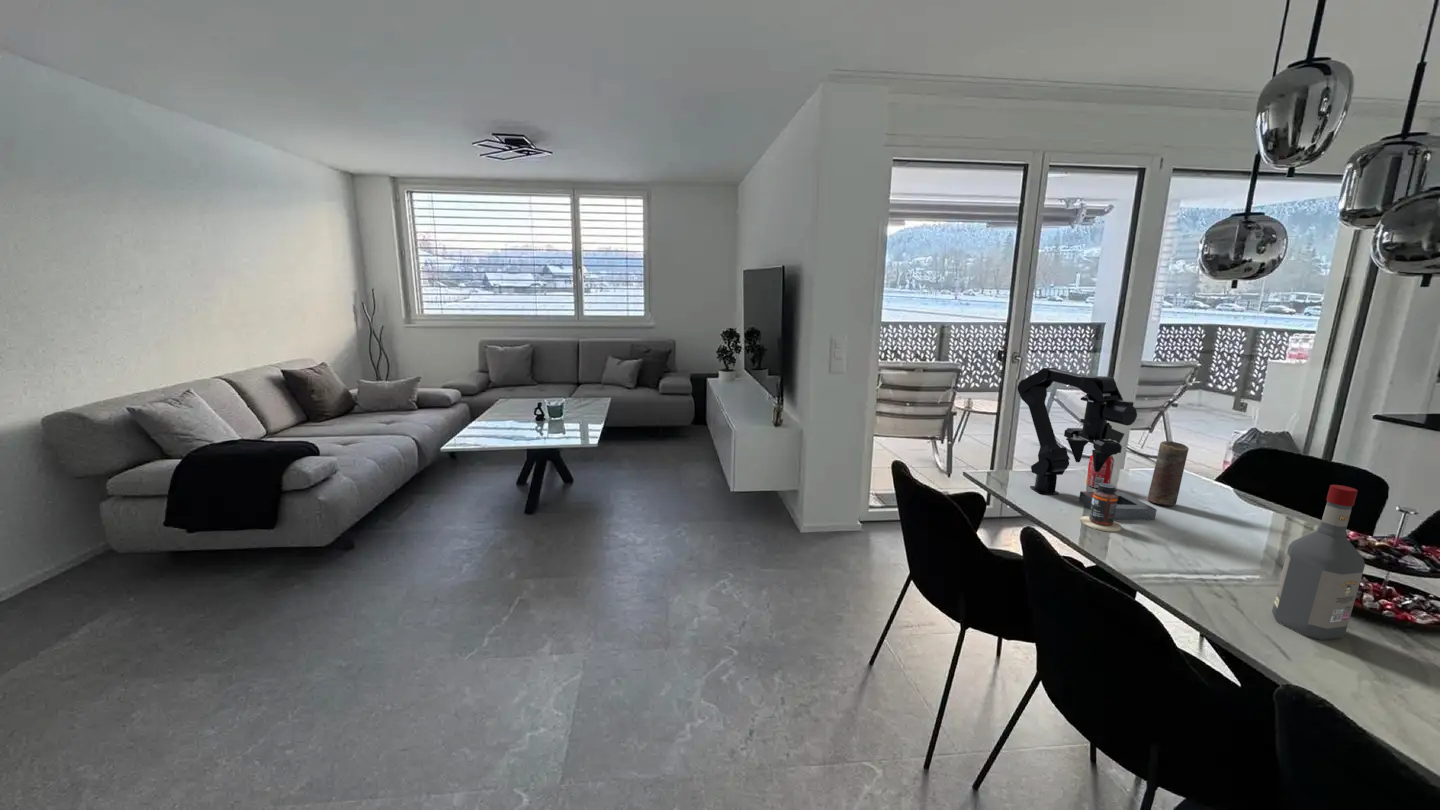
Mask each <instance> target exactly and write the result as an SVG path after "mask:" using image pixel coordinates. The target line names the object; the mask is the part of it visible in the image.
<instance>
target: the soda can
mask: <svg viewBox="0 0 1440 810" xmlns="http://www.w3.org/2000/svg"><path fill="white" fill-rule="evenodd" d="M1113 456H1114V454H1113V455H1111V456H1110V457H1109V458H1108V459H1107V460H1106V462H1105V463H1104V465H1103V466H1102V468H1101V469H1100V471H1099V472H1095V470H1094V463H1093V454H1091V455H1090V456H1089V460H1088V465H1087V466H1088V467H1087V473H1086V478H1085V479H1086V480H1085V481H1086V482H1085V483H1086V485H1088V486H1089V487H1090V486H1091V488H1092V487H1094V488H1093V489H1096V488H1098V486H1099V484H1100V483H1106V484H1111V482H1112V476H1113V472H1114V471H1113V470H1114V465H1115V459H1114V457H1113Z"/></svg>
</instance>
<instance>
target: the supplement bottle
mask: <svg viewBox="0 0 1440 810" xmlns="http://www.w3.org/2000/svg"><path fill="white" fill-rule="evenodd" d="M1093 492H1094V493H1093V498H1092V504H1091V509H1090V512H1089V516H1090V517H1089V519H1090V521H1092V522H1093V523H1096V524H1099V525H1105V526H1109V525H1113V523H1114V521H1115V520H1114V518H1115V512H1116V506H1117V499H1118V496H1117V494H1116V493H1115V492H1116V486H1115V485H1113V484H1111V483H1110V484H1106V483H1100V484H1099V486H1098V489H1096V490H1094V491H1093Z"/></svg>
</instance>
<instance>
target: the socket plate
mask: <svg viewBox="0 0 1440 810" xmlns="http://www.w3.org/2000/svg"><path fill="white" fill-rule="evenodd" d="M1114 492H1115V493H1116V494H1117V496H1118V499H1117V506H1116V512H1115V518H1114V521H1115V520H1117V521H1119V520H1121V521H1155V520H1156V515H1157V508H1154V507H1153V506H1151V505H1149V504H1147V503H1145V502H1144V501H1141V500H1139V499H1137V498H1135V497H1134V496H1132V495H1129V494H1128V493H1126V492H1122V491H1121V492H1119V491H1118V492H1117V491H1114ZM1093 493H1094V491H1080V492H1079V497H1078V503H1080V504H1082V505H1083V506H1084V507H1087V508H1088V509H1090V510H1091V504H1092V498H1093Z"/></svg>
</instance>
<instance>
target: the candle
mask: <svg viewBox="0 0 1440 810" xmlns="http://www.w3.org/2000/svg"><path fill="white" fill-rule="evenodd" d="M1189 450H1190V449H1189V447H1188V446H1187V445H1185V444H1183V443H1179V442H1175V441H1171V440H1170V441H1169V440H1164V441H1161V442H1160V443H1159V447H1158V452H1157V457H1156V460H1155V465H1154V470H1153V474H1152V478H1151V482H1150V486H1149V490H1148V493H1147V499H1146V500H1147V501H1149V502H1151V503H1154V504H1157V505H1161V506H1165V507H1170V506H1174V505H1176V504H1177V503H1178V497H1179V494H1180V488H1181V484H1182V479H1183V474H1184V469H1185V466H1186V462H1187V458H1188V453H1189Z"/></svg>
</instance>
